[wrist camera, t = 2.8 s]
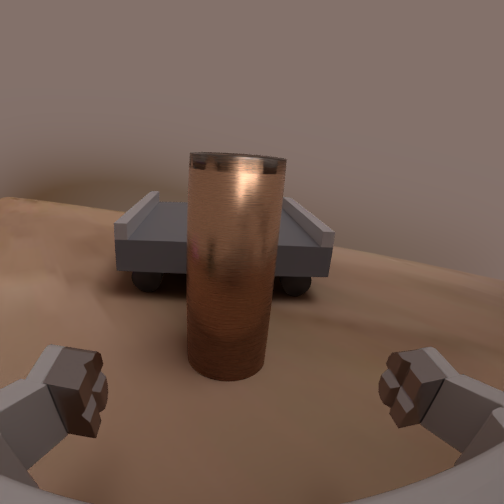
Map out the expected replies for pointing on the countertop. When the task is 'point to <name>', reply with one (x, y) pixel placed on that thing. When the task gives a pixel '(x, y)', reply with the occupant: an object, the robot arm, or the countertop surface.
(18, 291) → the countertop surface
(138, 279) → the grey rimmed tray
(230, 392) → the countertop surface
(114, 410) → the countertop surface
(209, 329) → the canister
